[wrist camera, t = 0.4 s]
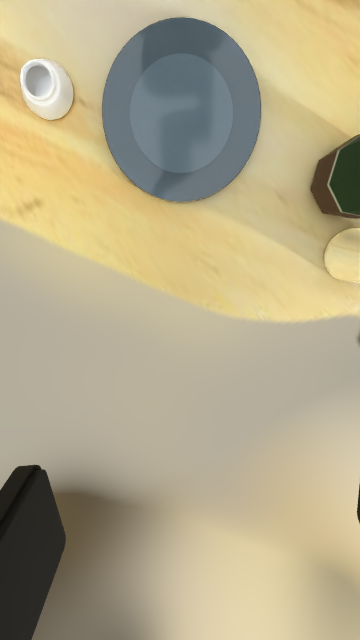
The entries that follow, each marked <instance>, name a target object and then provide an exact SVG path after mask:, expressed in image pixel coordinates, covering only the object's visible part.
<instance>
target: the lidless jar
mask: <svg viewBox="0 0 360 640" xmlns="http://www.w3.org/2000/svg"><path fill="white" fill-rule="evenodd" d="M20 79H21V81H20V82H21V90H22V94H23V98H24V100H25V102H26V104H27V105H28V107H29V108H30V109H31V110H32V111H33V112H34V113H35V114H37V115H38V116H39V117H41V118H44V119H48V120H54V119H59V118H61V117H62V116H64V115H65V114H67V112H68V111H69V109H70V107H71V105H72V101H73V95H74V92H73V87H72V82H71V80H70V78H69V76H68V74H67V73H66V71H65V70H64V69H63V68H62V67H61V66H60V65H59V64H58V63H56V62H55V61H52V60H49V59H46V58H44V59H36V60H30V61H28V62H26V63H25V64H24V66H23V67H22V70H21V74H20Z"/></svg>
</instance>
